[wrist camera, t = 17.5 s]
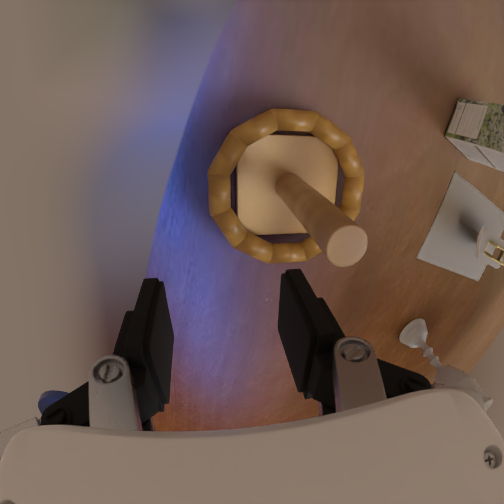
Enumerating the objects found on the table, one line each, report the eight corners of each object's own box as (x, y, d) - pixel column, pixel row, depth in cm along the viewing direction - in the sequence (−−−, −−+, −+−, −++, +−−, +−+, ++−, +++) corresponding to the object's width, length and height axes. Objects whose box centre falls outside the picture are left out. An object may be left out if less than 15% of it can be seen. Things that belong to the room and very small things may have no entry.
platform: (478, 281, 37) (502, 302, 31) (416, 258, 32) (447, 286, 26) (508, 217, 32) (536, 234, 26) (454, 171, 27) (493, 188, 21)
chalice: (435, 324, 39) (495, 403, 23) (405, 352, 41) (457, 435, 25) (420, 306, 36) (491, 395, 20) (386, 338, 38) (445, 433, 22)
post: (236, 231, 27) (258, 325, 16) (235, 133, 23) (261, 154, 12) (327, 227, 28) (396, 306, 17) (334, 137, 24) (429, 166, 13)
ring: (211, 260, 27) (212, 270, 25) (207, 108, 21) (206, 108, 19) (347, 253, 29) (354, 261, 27) (363, 117, 22) (373, 118, 21)
